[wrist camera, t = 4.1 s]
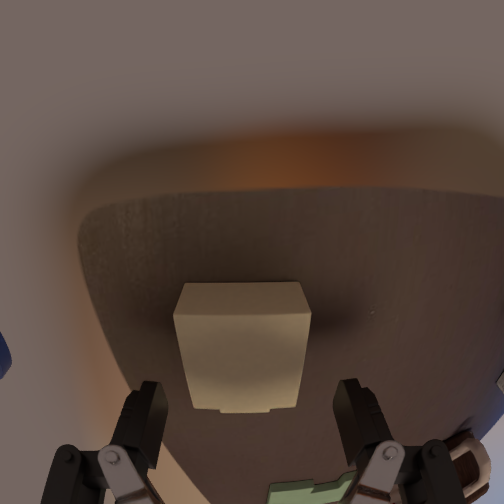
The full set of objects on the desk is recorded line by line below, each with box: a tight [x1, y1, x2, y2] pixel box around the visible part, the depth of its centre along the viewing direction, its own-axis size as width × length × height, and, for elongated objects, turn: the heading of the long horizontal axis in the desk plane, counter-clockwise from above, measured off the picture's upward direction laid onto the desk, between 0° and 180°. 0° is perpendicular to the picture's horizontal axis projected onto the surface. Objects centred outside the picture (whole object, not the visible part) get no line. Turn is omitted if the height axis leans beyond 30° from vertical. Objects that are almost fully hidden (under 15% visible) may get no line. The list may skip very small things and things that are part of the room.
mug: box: [444, 431, 491, 504], centre depth 22 cm, size 20×15×15 cm
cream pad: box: [173, 282, 311, 413], centre depth 14 cm, size 6×10×3 cm, turn 0°
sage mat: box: [266, 471, 357, 504], centre depth 28 cm, size 16×14×2 cm
